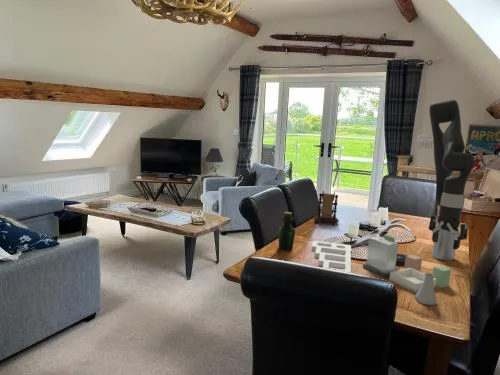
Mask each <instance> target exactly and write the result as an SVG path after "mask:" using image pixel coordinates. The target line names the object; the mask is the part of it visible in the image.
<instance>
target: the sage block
mask: <svg viewBox="0 0 500 375" xmlns="http://www.w3.org/2000/svg"><path fill="white" fill-rule="evenodd" d="M451 272H452V269H451V268H449V267H446V266H443V265H440V264H439V265H436V266H433V268H432V273H431V274H433V275H434V276H435V277H434V278H436V279H437V281H436V287H438V288H440V289H443V288H448V287H449V284H450V280H451Z"/></svg>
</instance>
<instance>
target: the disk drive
mask: <svg viewBox="0 0 500 375" xmlns="http://www.w3.org/2000/svg"><path fill="white" fill-rule="evenodd" d="M408 255H409V254H403V253H397V258H396V265H395V266H402V267H404V266H405V259H406V256H408Z"/></svg>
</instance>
